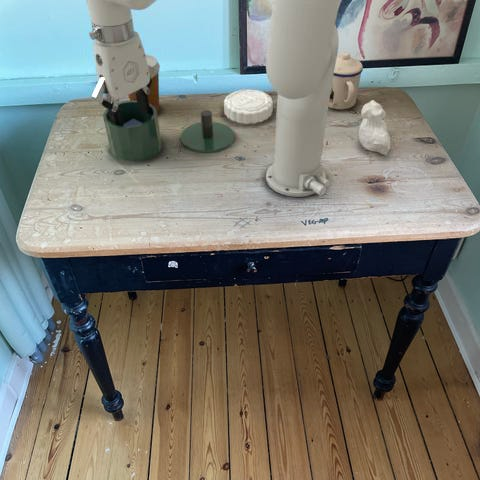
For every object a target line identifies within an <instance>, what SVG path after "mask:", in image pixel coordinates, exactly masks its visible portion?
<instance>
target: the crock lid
mask: <svg viewBox="0 0 480 480" xmlns="http://www.w3.org/2000/svg"><path fill="white" fill-rule="evenodd" d="M213 120H214V119H213V111H212V110H209V109H204V110H201V111H200V122H196V123H193V124H191V125H189V126H187V127H186V128H185V129H183V130H182V132H181V134H180V141H181V144H182V145H183V147H185V148H186V149H187V150H190V151H192V152H195V153H200V154H201V153H202V154H211V153H217V152H221V151H224V150H226V149H228V148H229V147H231V145H232V144H233V143H234V141H235V138H236V137H235V132H234V130H233V129H232V127H230V126H228V125H227V124H224V123H222V122H217V121H213Z"/></svg>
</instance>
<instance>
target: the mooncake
mask: <svg viewBox="0 0 480 480" xmlns="http://www.w3.org/2000/svg"><path fill="white" fill-rule="evenodd" d="M273 109H274V102H273V98H272V97H271V96H270V94H268V93H266V92H264V91H262V90H258V89H251V88H250V89H249V88H246V89H239V90H235V91H234V92H230V93H229V94H228V95H227V96H225V98H224V100H223V112H224V116H226V118H227V119H229V120H231V121H232V122H237V123H238V124H245V125H246V124H247V125H248V124H257V123H262V122H263V121H265V120H268V119H269V117H270V118H271V116H272V114H273V111H274V110H273Z"/></svg>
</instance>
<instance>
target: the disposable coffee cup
mask: <svg viewBox="0 0 480 480" xmlns="http://www.w3.org/2000/svg"><path fill="white" fill-rule="evenodd" d="M145 56H146V60H147V64H148V65H149V66H151V67H153V68H154V69H155V72H154V75H153V78H152V83H151V86H150V88H149V90H150V93H149V94H148V99H149V103H150V104H151V105H153V106H154V107H155V108H156V111H157V113H158V112H159V111H160V84H159V83H160V79H159V78H160V77H159V75H160V69H161V65H160V63H159V62H158V59H157V58H156V57H155V56H153V55H150V54H146V53H145ZM137 91H138V90H137ZM137 91H135V92H134V93H132V94H130V95H128V96H127V97H128V98H129V101H137V98H136V92H137Z"/></svg>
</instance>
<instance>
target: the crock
mask: <svg viewBox="0 0 480 480" xmlns="http://www.w3.org/2000/svg"><path fill="white" fill-rule="evenodd" d="M149 107H150V113H149V114H146V113H144V112H142V111H140V110H139V109H138V104H137V101H130V100H125V101H120V102H118V110H120V111H121V116H122V120H123V124H125V123H126V122H128V121H130V120H132V119H135V120H137V121H139V122H141V123H142V124H139V125H134V126H118V125H115V124H112V123H111V121H110V116H109V112H108V109H107V108H105V110H104V112H103V114H102V118H103V124H104V127H105V131H106V135H107V140H108V144H109V145H108V146H109V149H110V153H111V155H112V156H114V157H115V158H116V159H118V160H120V161H123V162H134V163H135V162H142V161H146V160H149V159H151V158H154V157H155V156H156V155H158V154H159V153H160V151H161V149H162V147H163V145H162V136H161V131H160V124H159V117H158V112H157V111H156V108H155V107H154V106H153V105H151V104H150V103H149Z"/></svg>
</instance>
